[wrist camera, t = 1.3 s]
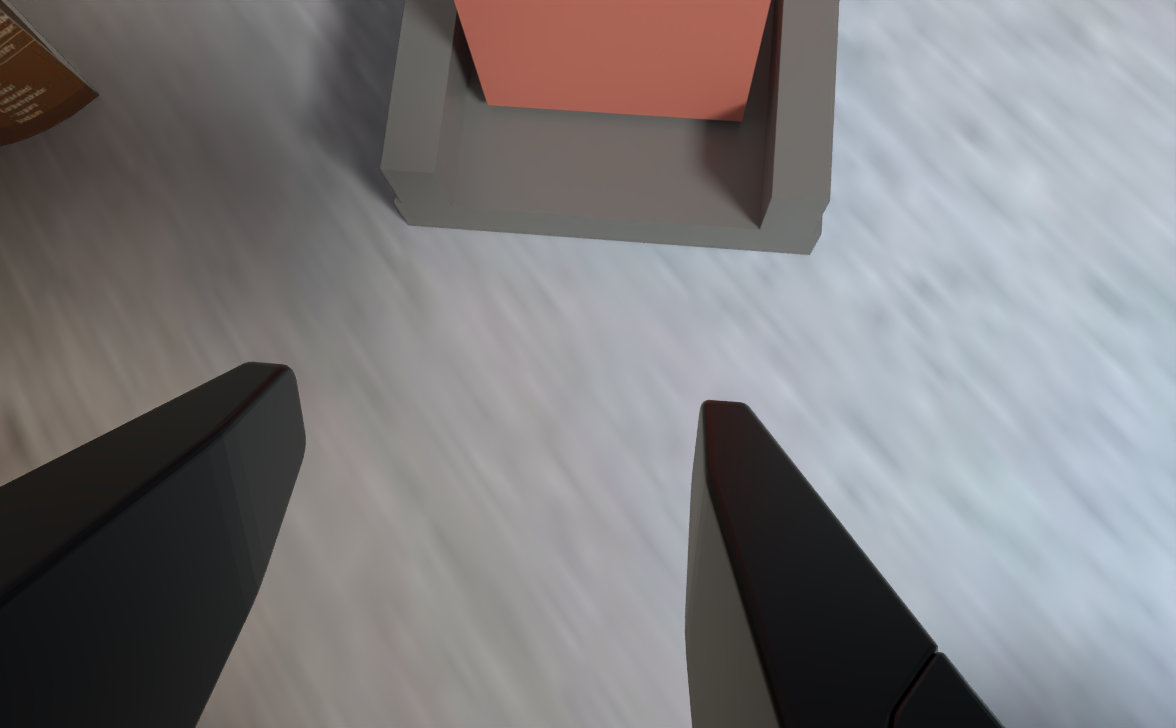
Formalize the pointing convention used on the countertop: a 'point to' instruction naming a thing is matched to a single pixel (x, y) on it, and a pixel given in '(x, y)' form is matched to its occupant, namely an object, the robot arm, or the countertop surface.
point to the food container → (34, 80)
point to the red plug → (617, 54)
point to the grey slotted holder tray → (617, 148)
